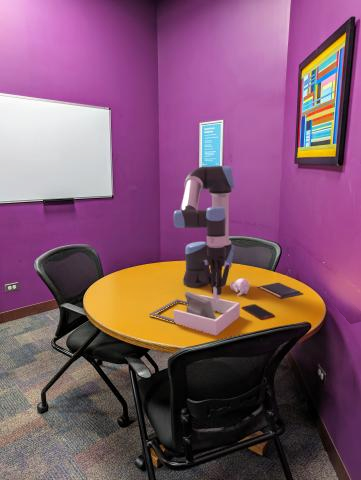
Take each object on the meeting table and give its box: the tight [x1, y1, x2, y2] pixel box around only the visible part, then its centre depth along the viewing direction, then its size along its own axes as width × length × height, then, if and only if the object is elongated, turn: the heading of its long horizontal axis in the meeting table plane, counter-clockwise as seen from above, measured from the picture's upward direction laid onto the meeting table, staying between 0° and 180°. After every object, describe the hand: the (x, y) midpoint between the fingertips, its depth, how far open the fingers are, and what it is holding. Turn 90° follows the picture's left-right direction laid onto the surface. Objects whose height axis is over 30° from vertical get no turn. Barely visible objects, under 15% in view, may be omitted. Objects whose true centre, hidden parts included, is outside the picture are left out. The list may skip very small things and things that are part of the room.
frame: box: [148, 298, 188, 322], centre depth 156 cm, size 13×21×1 cm, turn 145°
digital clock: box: [184, 291, 217, 320], centre depth 147 cm, size 16×9×11 cm, turn 25°
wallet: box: [256, 282, 304, 300], centre depth 178 cm, size 20×2×15 cm
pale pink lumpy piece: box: [230, 277, 251, 297], centre depth 176 cm, size 6×8×12 cm
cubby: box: [173, 294, 241, 336], centre depth 146 cm, size 20×21×6 cm
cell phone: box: [241, 303, 276, 321], centre depth 152 cm, size 8×15×1 cm, turn 25°
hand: (216, 301), depth 141 cm, fingers closed
